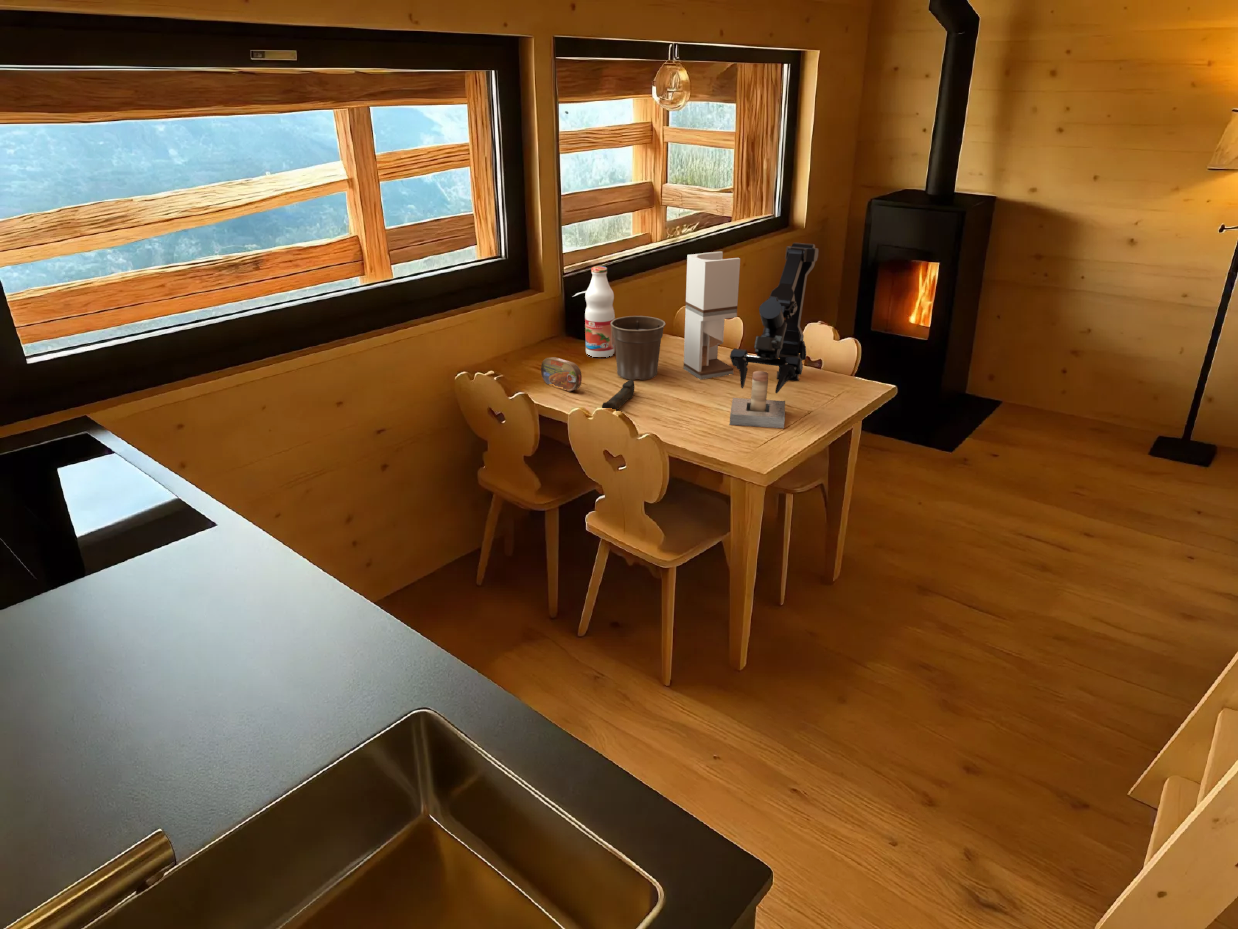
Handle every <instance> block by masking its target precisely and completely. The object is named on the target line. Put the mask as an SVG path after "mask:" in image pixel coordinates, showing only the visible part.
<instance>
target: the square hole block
mask: <svg viewBox="0 0 1238 929" xmlns="http://www.w3.org/2000/svg"><path fill="white" fill-rule="evenodd" d="M731 400H732V401H731V407H730V413H729V425H730V426H740V427H741V426H743V427H757V428H773V429H784V428H785V419H786V411H785V410H786V401H785V400H775V399H766V410H765V412H755V411H750V407H751V398H743V397H742V398H739V397H732V399H731Z"/></svg>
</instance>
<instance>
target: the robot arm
mask: <svg viewBox="0 0 1238 929" xmlns="http://www.w3.org/2000/svg"><path fill="white" fill-rule="evenodd" d="M818 258H819V248H816V245H815V244H814V243H805V242H804V243H801V242H793V243H792V245H791V246H790V245H789V246H786V248H785V256H784V260H785V263H784V266H783V270H782V272H781V276H780V279H779V282H778V286H776V287H775V288H774V289H771V291H770V292H771V293H770V294H769V296H768V298H767V299H766V300H765V301H764V302H762V303H761V304H760V305H759V307H758V309H759V312H758V313H759V315H760V316H759V317H760V320H761V323H762V326H764V327H763V329H762V330H763V331H762V334H761V336H759V335H756V336H755V341H754V346H753V347H754V349H755V350H754V353H755V354H756V355H752V354H749V353H748V350H747V349H744V348H743V349H741V348H733V349H731V351H730V354H729V358H730V360H731V364H732V367H733V366H734V367H736V369H737V370H739V379H740V388H741V389H744V387H745V383H746V380H747V379H746V378H747V374H748V370H749V369H748V366H749V364H750V363H751V364H757V365H758V364H759V365H765V366H766V365H767V366H772V367H774V366H775V367H778V371H776V380H777V382H776V386H775V389H774V390H775V391H774V392H775V394H778V393H779V392H780V391H781V389H782V388H783V387H784V385H785V384H786V383H787V382H788V381H794V382H798V381H800V376H801V375H802V374H803V369H804V366H803V365H804V364H803V361H806V359H807V347H806V344H805V340H804V337H805V336H804V333H803V331H802V328H801V320H802V313H803V306H804V299H805V292H806V286H807V281H808V280H807V278H808V275H809V274H810V273H811V271H812V270H813V269H814V267H815V264H816V262H817V261H818Z"/></svg>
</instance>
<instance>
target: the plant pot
mask: <svg viewBox="0 0 1238 929" xmlns="http://www.w3.org/2000/svg"><path fill="white" fill-rule="evenodd" d="M611 326H612V329H613V337H614V339H615V360H616V361H615V362H616V373H617V375H618V377H620V378H622V379H625V380H633V381H635V380H637V379H638V380H640V381H644V380H651V379H653V378H655V377H656V376H657V375H658V368H659V361H660V360H659V358H660V351H661V344H662V338H663V333H664V328H665V326H666V322H665V321H664V320H663V319H661V318H657V317H652V316H645V315H629V316H622V317H617V318H615V319H614V320H612V321H611Z"/></svg>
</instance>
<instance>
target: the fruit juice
mask: <svg viewBox="0 0 1238 929" xmlns="http://www.w3.org/2000/svg"><path fill="white" fill-rule="evenodd" d="M590 272H591V274H592V276H591V280H590V283H589V285H588V287H587V289H586V291H585V296H584V298H585V299H584V300H585V302H586V307H585V310H584V311H585V313H584V321H585V322H584V323H585V324H584V328H585V329H584V332H585V333H584V334H585V353H586V355H587V354H588V355H590V356H592V357H591V358H593V357H606V358H610V357H613V356H614V355H613V354H615V352H616V350H615V339H614V337H613V329H612V326H611V321H612V320H614V319H616V317H615V316H616V315H615V309H614V305H613V303H614V299H615V294H614V291H613V289H612V287H611V286H610V283H609V281H608V277H607V274H608V267H606V266H601V265H599V266H598V265H596V266H593V267H591V270H590ZM588 355H587V356H588ZM590 356H589V357H590ZM609 356H610V357H609Z"/></svg>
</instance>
